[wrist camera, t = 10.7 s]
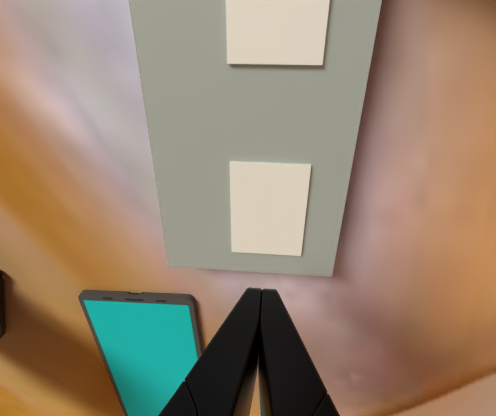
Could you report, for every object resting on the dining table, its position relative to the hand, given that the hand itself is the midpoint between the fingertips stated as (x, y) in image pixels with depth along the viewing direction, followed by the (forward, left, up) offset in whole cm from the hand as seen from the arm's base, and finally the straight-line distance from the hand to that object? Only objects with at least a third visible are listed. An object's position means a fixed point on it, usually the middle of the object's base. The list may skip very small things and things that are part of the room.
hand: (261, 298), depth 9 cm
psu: (+3, +2, -7) cm, 8 cm away
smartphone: (-17, +2, -8) cm, 18 cm away
